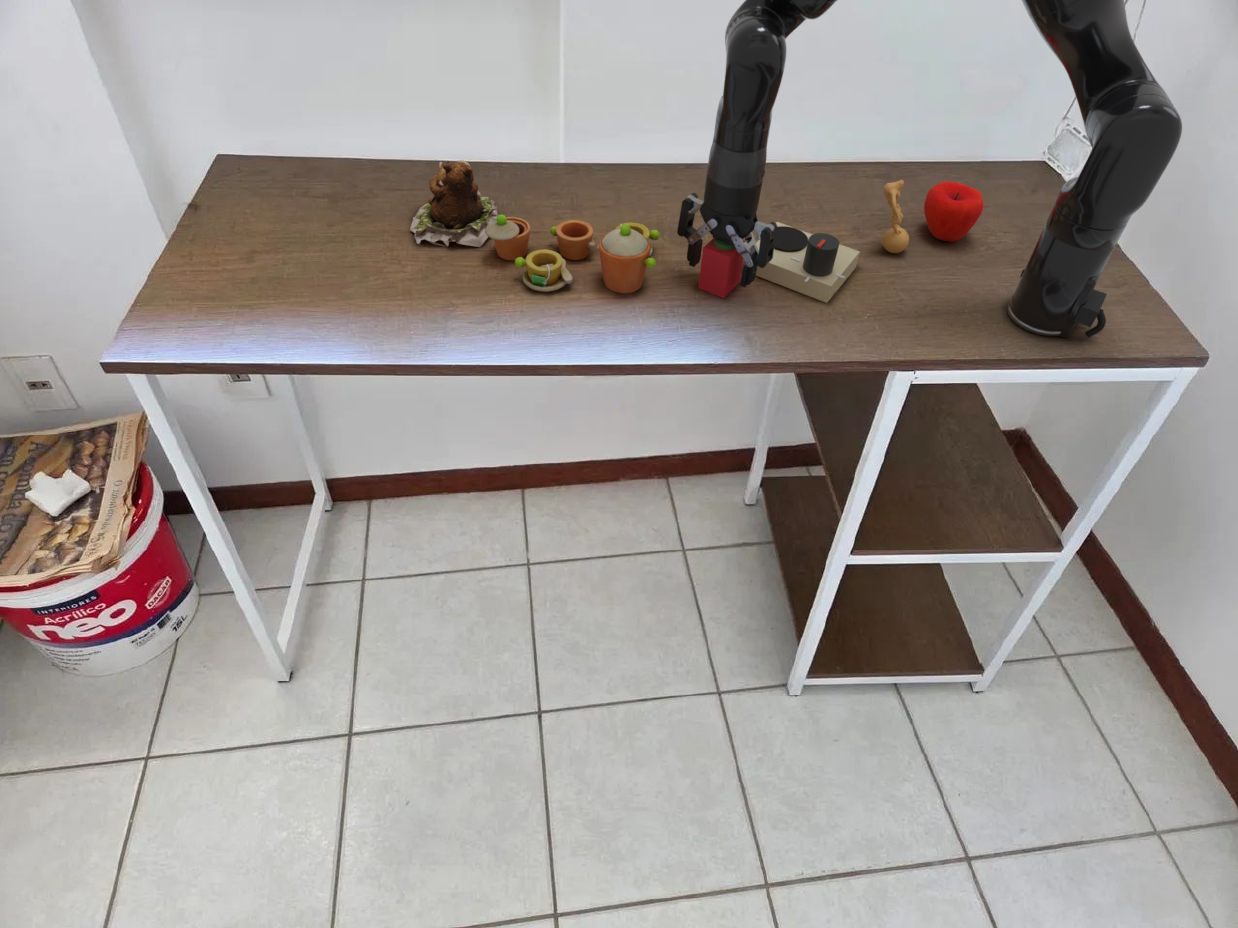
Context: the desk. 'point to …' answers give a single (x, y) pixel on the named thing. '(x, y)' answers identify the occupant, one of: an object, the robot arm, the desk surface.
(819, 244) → the hob knob
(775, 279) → the hob
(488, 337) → the desk surface
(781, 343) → the desk surface
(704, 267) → the red block green button
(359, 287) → the desk surface
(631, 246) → the toy tea set
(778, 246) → the burner
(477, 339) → the desk surface
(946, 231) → the apple
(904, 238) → the figurine
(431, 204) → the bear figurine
